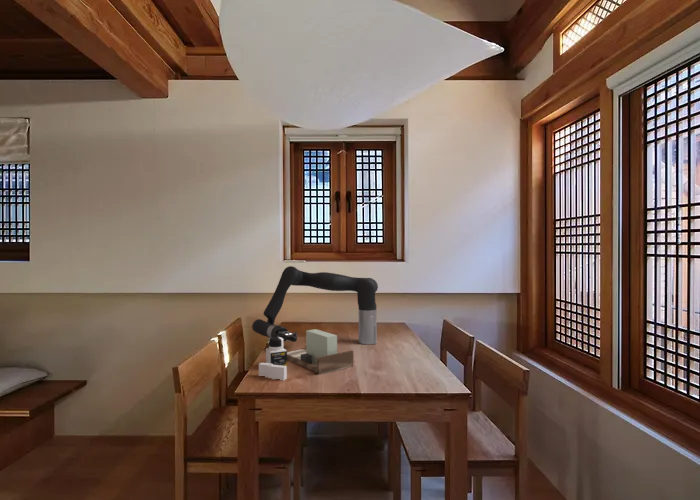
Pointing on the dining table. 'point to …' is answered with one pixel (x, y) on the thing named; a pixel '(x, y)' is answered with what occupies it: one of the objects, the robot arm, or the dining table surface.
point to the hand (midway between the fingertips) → (295, 339)
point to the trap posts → (306, 358)
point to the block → (320, 344)
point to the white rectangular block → (273, 371)
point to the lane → (323, 361)
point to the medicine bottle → (276, 352)
